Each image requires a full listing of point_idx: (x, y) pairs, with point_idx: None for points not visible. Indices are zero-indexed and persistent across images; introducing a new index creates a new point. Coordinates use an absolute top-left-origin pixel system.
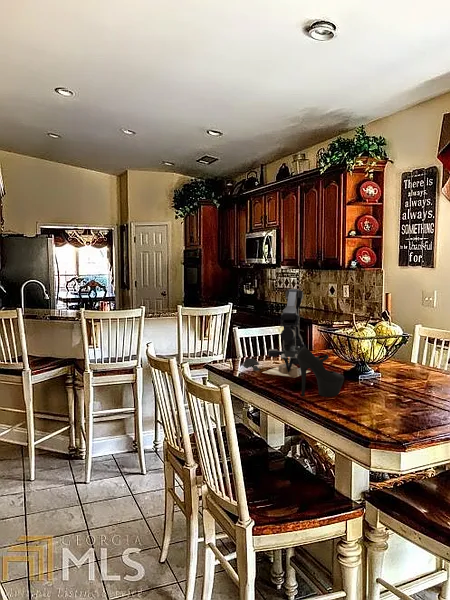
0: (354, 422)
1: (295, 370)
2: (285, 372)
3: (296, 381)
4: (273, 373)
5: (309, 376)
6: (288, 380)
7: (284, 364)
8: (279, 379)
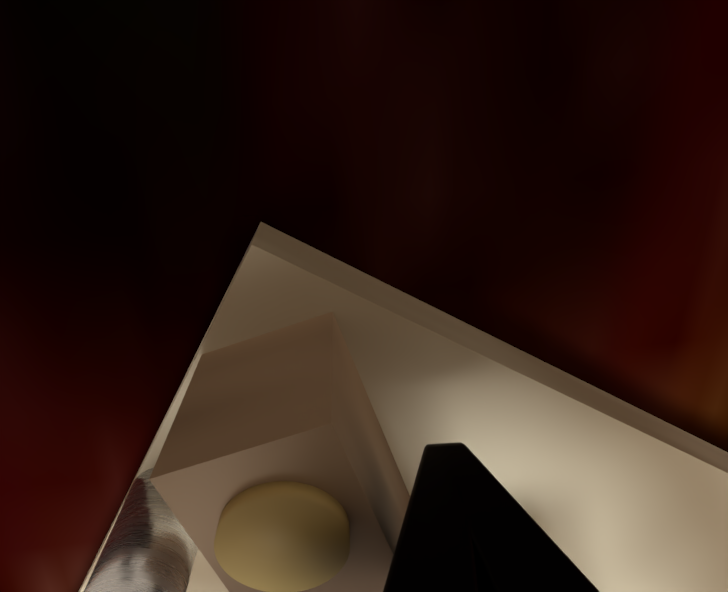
0: None
1: (222, 448)
2: None
3: (217, 94)
4: (719, 530)
5: (11, 542)
6: (426, 181)
7: None
8: (629, 254)
